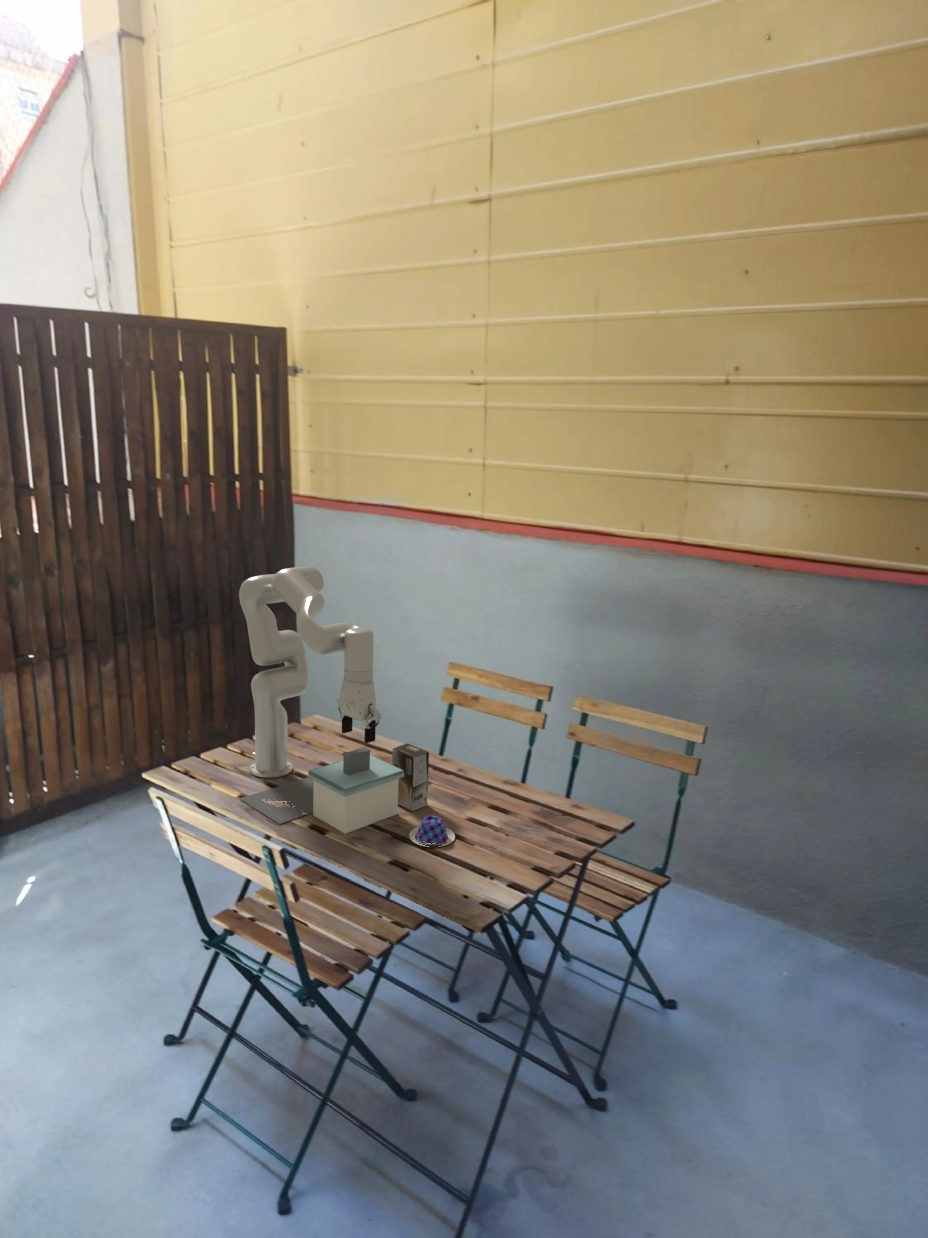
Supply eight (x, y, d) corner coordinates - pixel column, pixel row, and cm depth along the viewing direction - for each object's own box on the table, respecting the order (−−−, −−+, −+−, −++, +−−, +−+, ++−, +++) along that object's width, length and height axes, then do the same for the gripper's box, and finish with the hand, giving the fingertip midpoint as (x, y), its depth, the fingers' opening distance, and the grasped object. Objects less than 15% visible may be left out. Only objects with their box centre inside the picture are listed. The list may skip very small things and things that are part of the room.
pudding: (410, 826, 222) (411, 808, 221) (455, 829, 222) (456, 810, 221) (406, 848, 210) (407, 829, 209) (454, 851, 210) (455, 832, 209)
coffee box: (428, 805, 234) (430, 751, 231) (412, 812, 230) (414, 757, 226) (406, 794, 240) (408, 742, 237) (389, 801, 236) (391, 748, 232)
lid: (308, 777, 222) (308, 751, 221) (366, 759, 237) (367, 735, 235) (344, 796, 212) (345, 770, 210) (403, 776, 226) (404, 751, 224)
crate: (313, 815, 225) (313, 773, 222) (365, 797, 238) (366, 757, 235) (344, 833, 215) (345, 791, 213) (397, 814, 228) (398, 773, 225)
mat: (239, 799, 232) (239, 798, 232) (310, 777, 249) (310, 776, 249) (279, 824, 219) (279, 823, 218) (352, 799, 235) (352, 798, 235)
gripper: (327, 670, 221) (327, 731, 225) (368, 685, 209) (367, 749, 213) (349, 666, 226) (349, 725, 230) (391, 679, 214) (390, 742, 218)
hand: (358, 736), depth 221 cm, fingers open, 9 cm apart
